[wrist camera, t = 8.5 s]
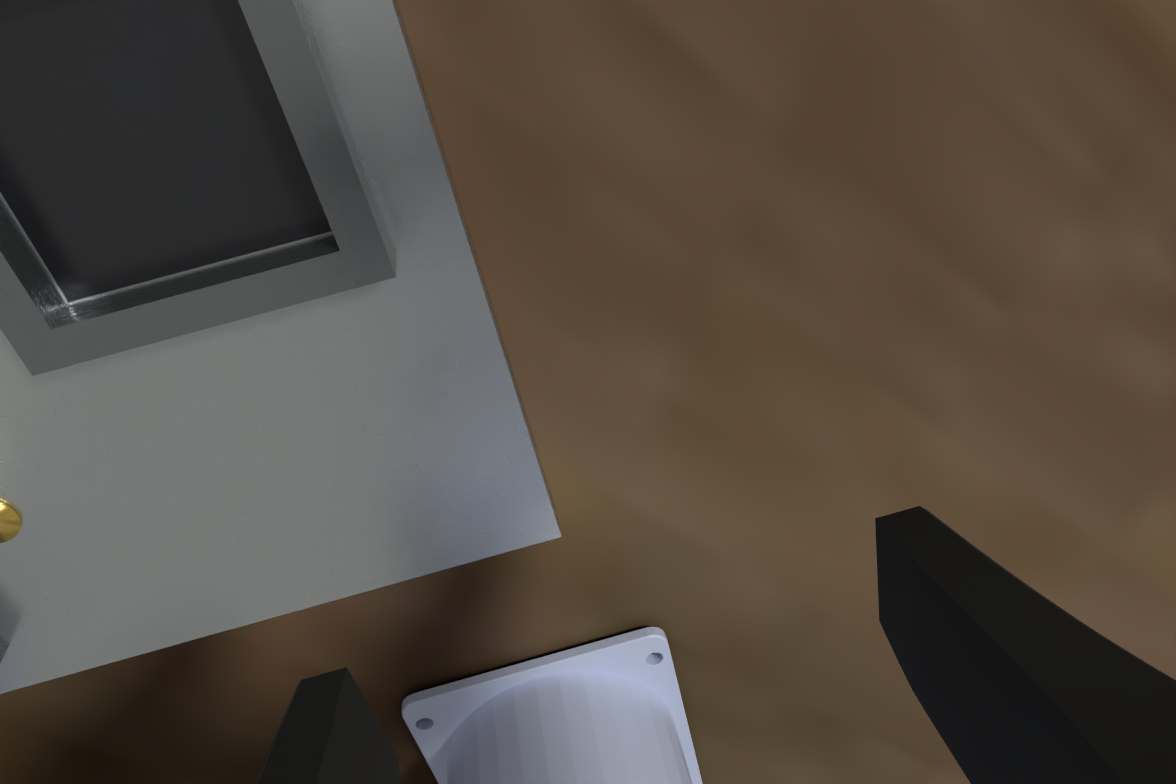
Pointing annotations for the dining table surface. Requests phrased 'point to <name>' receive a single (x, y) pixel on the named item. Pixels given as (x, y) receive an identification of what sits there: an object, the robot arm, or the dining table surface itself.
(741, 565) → the dining table surface
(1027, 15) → the dining table surface
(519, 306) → the dining table surface
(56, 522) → the switch plate
